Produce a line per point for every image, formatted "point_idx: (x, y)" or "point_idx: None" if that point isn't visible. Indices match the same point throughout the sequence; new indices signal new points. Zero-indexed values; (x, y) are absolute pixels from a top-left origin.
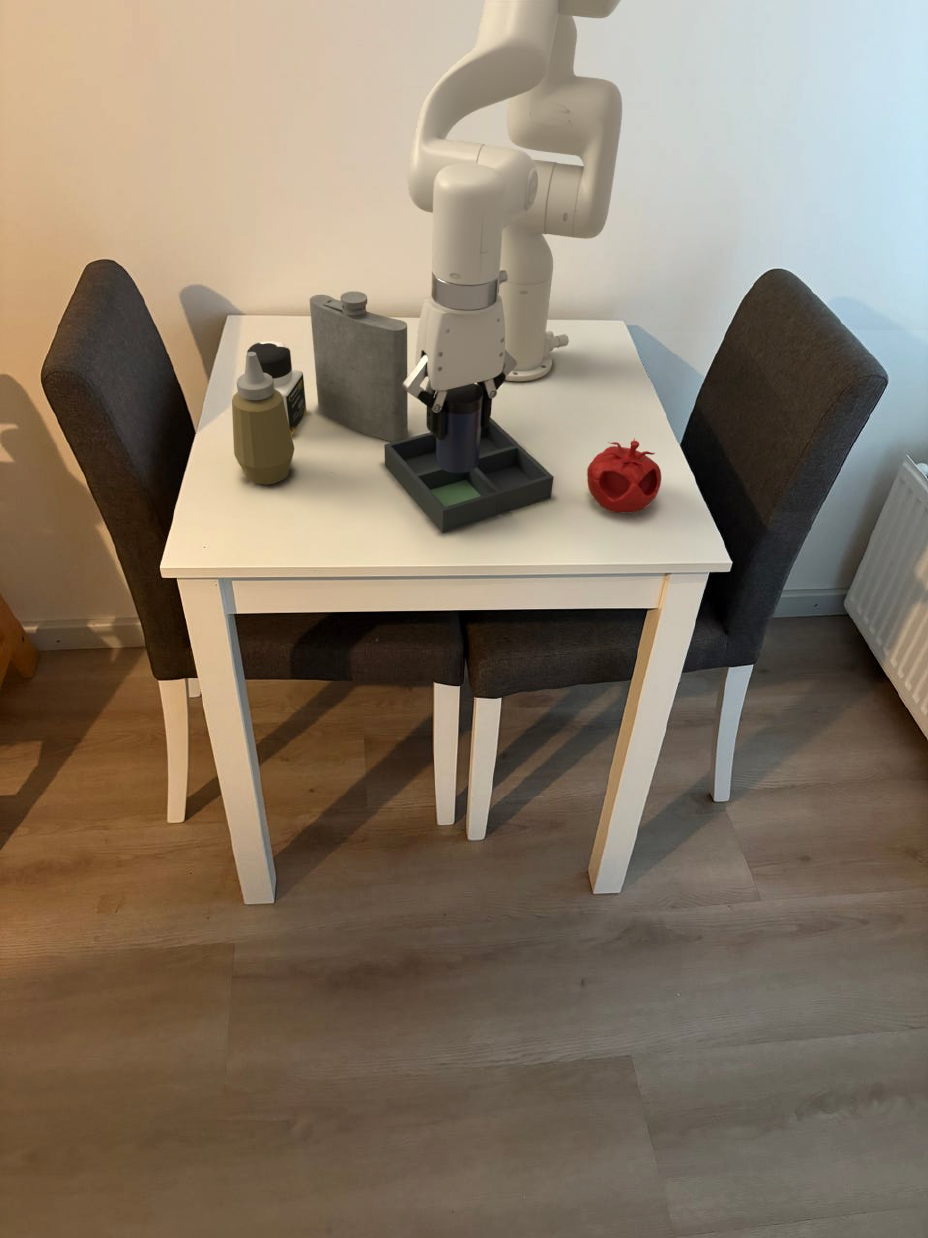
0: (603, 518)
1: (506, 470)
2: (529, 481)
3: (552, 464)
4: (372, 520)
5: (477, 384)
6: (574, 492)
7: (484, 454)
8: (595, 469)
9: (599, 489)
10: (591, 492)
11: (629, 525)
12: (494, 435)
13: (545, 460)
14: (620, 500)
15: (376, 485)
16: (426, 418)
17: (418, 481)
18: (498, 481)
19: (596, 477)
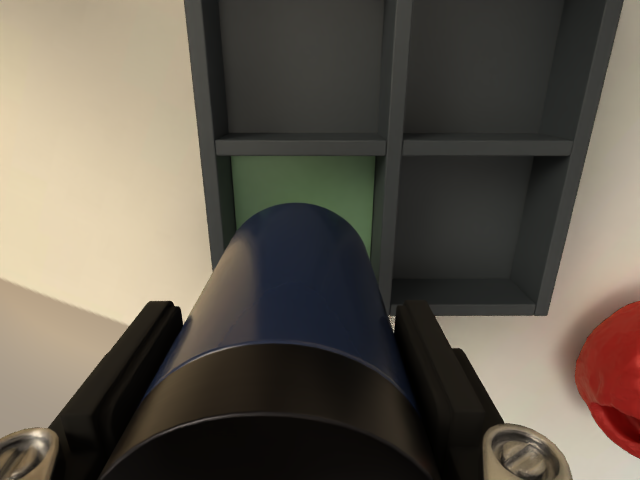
0: (554, 375)
1: (498, 156)
2: (480, 307)
3: (624, 171)
4: (93, 176)
5: (480, 472)
6: (575, 287)
7: (458, 143)
8: (636, 398)
9: (594, 398)
10: (586, 354)
11: (577, 408)
12: (581, 6)
13: (625, 146)
14: (602, 430)
15: (145, 34)
16: (89, 376)
17: (206, 181)
18: (448, 189)
19: (615, 403)
